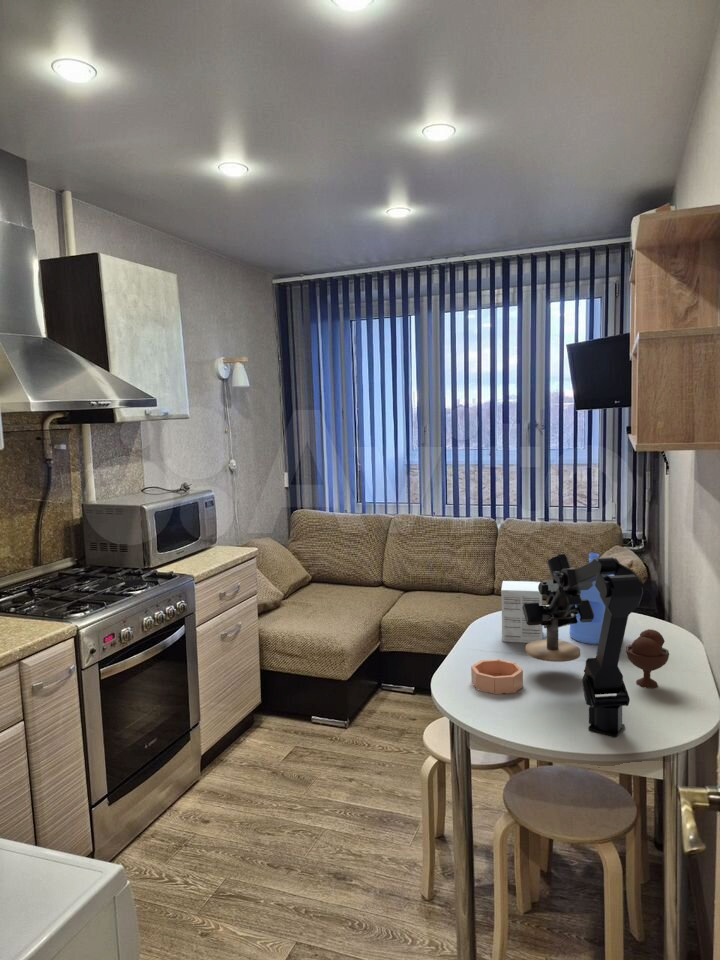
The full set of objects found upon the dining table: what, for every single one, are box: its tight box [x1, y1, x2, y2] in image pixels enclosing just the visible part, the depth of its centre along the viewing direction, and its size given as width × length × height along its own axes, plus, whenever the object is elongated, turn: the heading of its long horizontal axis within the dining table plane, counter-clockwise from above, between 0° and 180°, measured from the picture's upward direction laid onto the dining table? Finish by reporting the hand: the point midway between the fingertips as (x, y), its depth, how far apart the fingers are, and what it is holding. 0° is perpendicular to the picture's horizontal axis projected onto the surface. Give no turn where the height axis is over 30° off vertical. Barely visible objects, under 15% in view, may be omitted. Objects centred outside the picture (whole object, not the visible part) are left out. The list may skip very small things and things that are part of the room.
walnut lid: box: [525, 618, 581, 663], centre depth 184 cm, size 15×15×13 cm
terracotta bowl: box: [470, 658, 524, 695], centre depth 179 cm, size 13×13×4 cm
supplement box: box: [500, 580, 543, 644], centre depth 218 cm, size 13×13×18 cm
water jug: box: [569, 553, 615, 645], centre depth 214 cm, size 16×16×28 cm
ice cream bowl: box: [625, 629, 670, 689], centre depth 175 cm, size 11×11×15 cm
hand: (550, 626), depth 186 cm, fingers closed on walnut lid, 3 cm apart
